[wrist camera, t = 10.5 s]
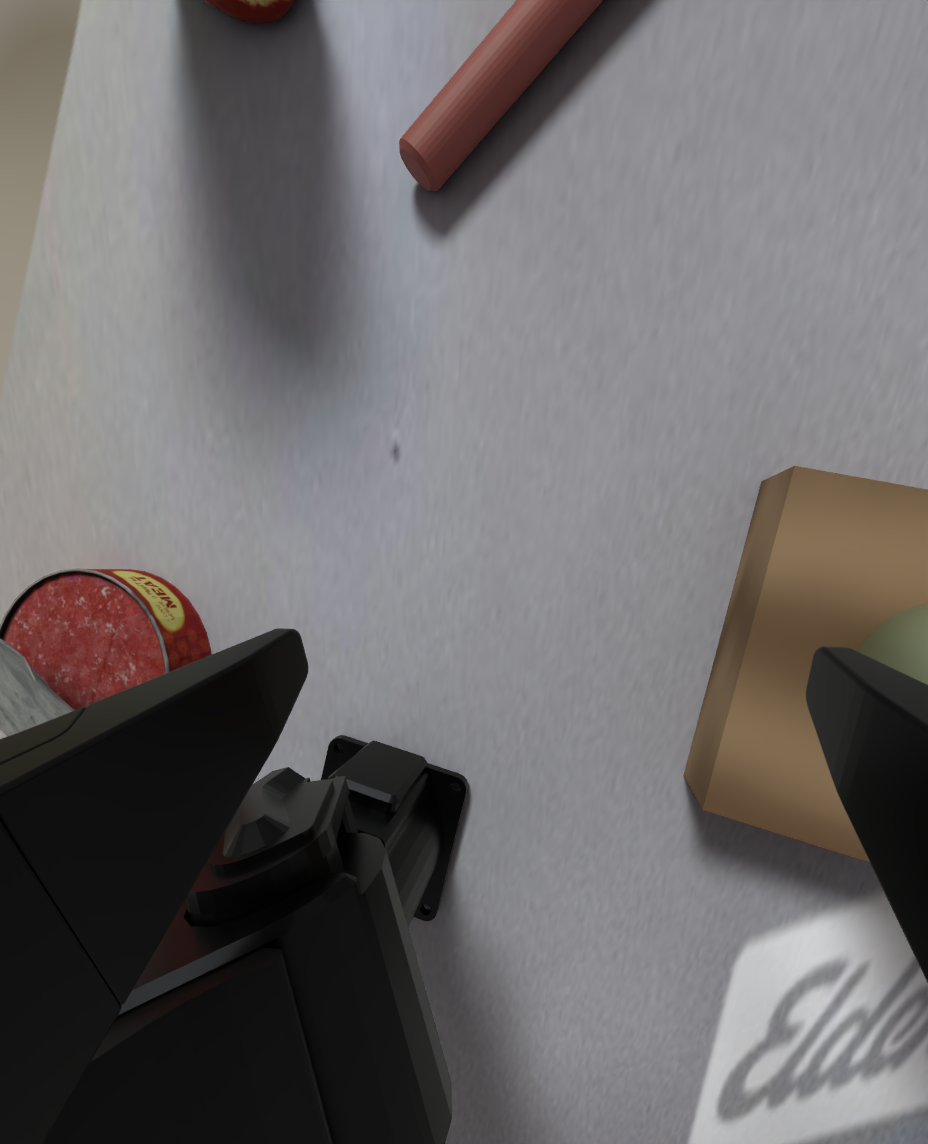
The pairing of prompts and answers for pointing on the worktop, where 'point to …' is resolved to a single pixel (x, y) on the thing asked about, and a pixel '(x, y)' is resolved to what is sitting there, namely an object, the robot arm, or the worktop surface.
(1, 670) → the canned food
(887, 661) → the green cylinder
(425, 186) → the red collared rod
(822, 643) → the walnut base
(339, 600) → the worktop surface
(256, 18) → the food model
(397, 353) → the worktop surface
